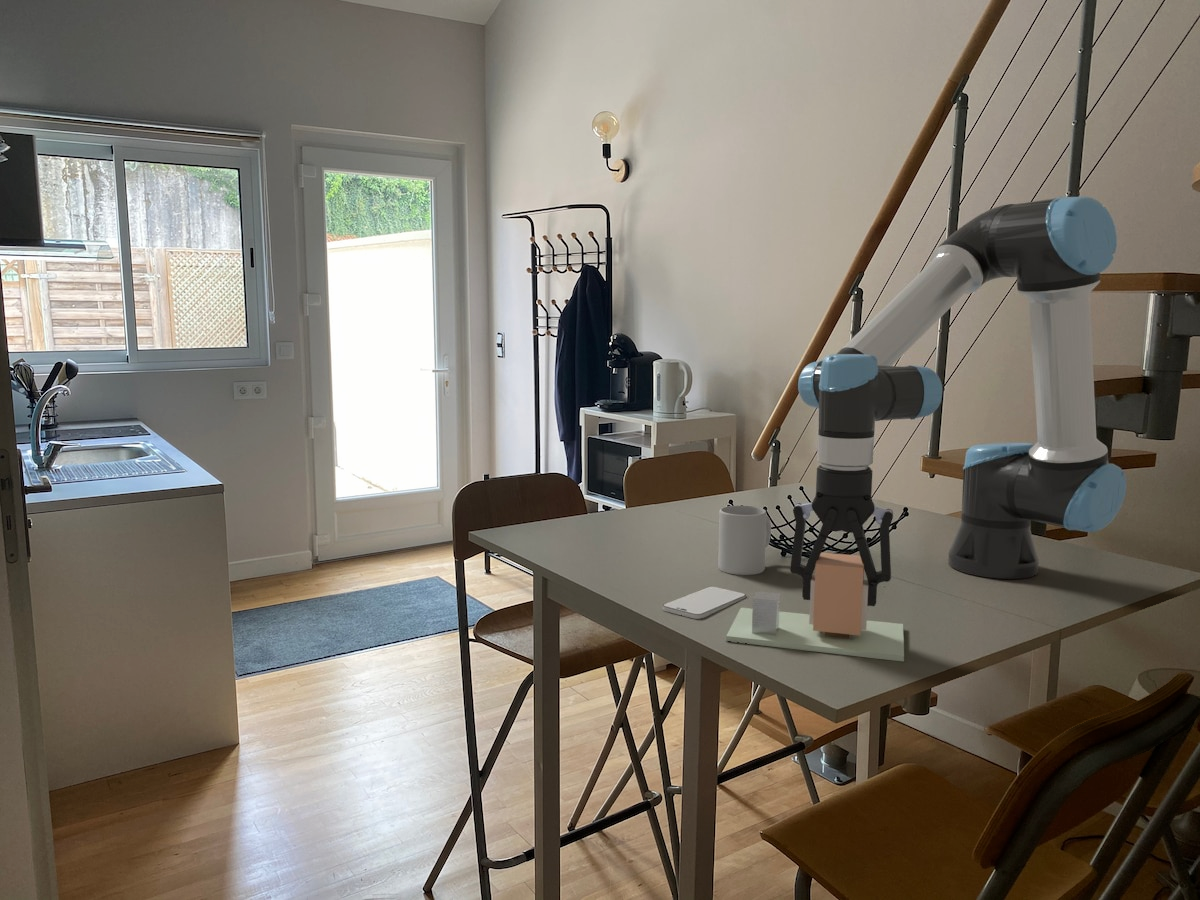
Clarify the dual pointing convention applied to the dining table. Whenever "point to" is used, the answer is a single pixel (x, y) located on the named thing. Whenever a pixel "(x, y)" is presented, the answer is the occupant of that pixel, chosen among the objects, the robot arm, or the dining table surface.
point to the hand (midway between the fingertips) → (838, 623)
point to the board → (822, 637)
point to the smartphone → (703, 602)
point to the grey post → (765, 613)
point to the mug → (743, 539)
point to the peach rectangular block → (838, 593)
